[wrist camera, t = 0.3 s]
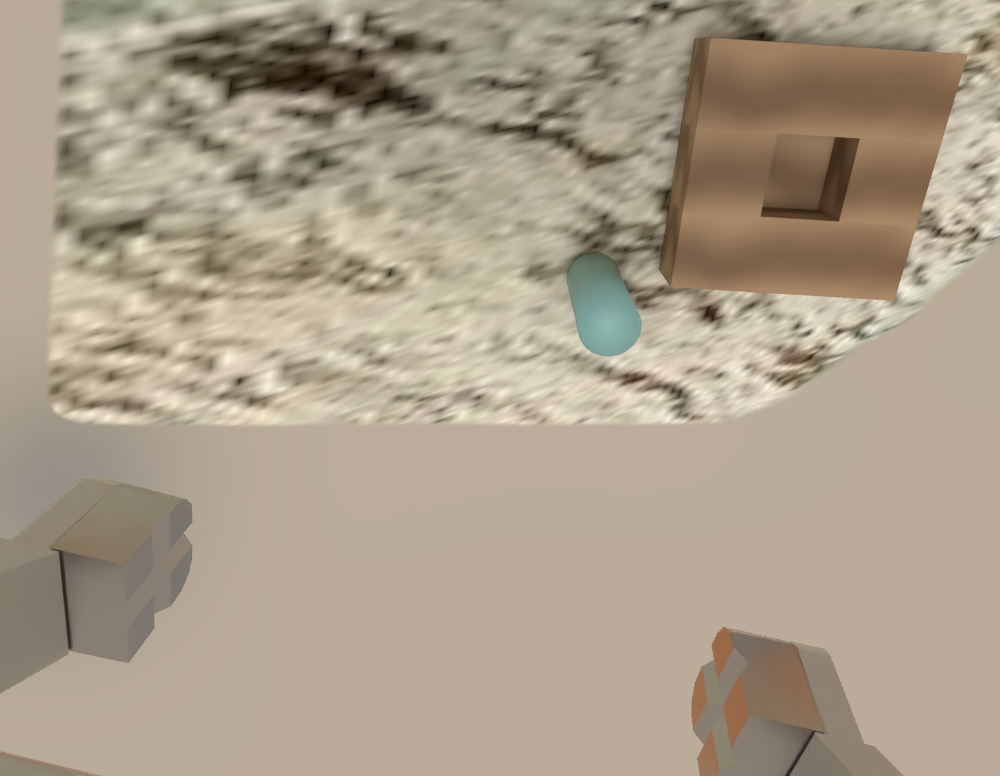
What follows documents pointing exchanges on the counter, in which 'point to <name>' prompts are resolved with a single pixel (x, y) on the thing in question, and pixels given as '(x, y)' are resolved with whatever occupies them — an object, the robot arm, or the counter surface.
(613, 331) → the pin
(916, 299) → the counter surface
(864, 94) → the bore block
